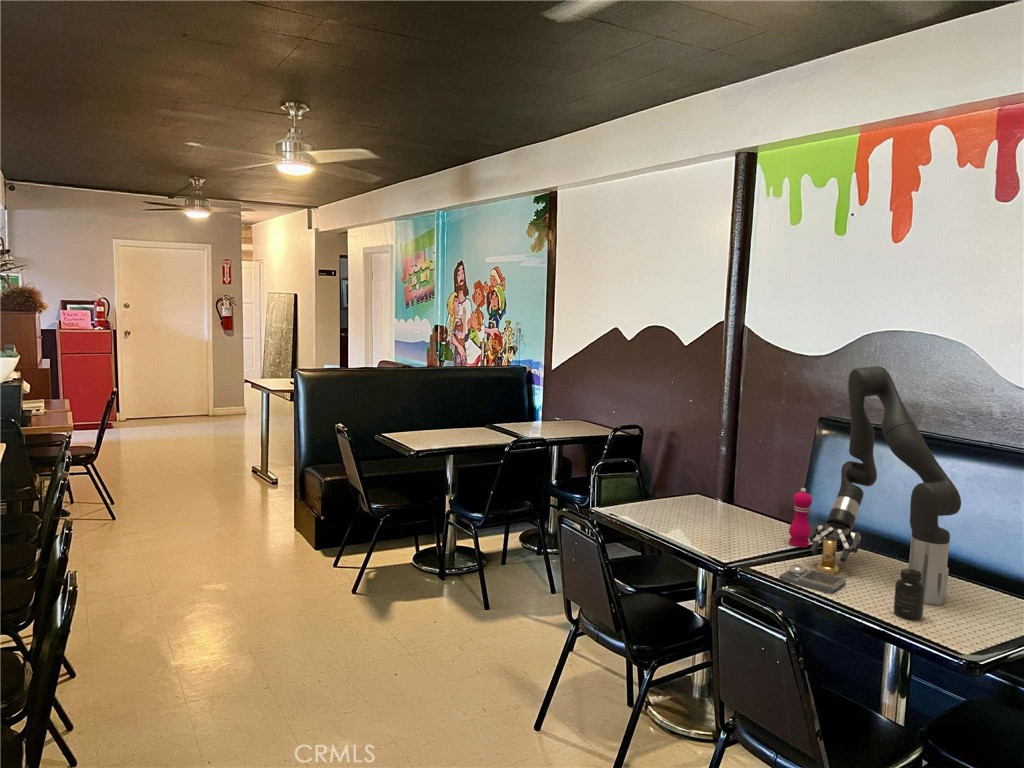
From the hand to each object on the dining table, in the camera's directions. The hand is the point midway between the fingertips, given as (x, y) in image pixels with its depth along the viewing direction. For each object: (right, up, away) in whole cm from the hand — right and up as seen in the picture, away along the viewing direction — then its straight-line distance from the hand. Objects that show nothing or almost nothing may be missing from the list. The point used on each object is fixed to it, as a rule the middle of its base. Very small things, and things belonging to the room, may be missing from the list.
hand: (827, 557), depth 221 cm
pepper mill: (+3, -3, +28) cm, 28 cm away
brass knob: (+1, -5, +1) cm, 5 cm away
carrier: (-8, -5, -8) cm, 12 cm away
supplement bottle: (+8, -8, -30) cm, 32 cm away
